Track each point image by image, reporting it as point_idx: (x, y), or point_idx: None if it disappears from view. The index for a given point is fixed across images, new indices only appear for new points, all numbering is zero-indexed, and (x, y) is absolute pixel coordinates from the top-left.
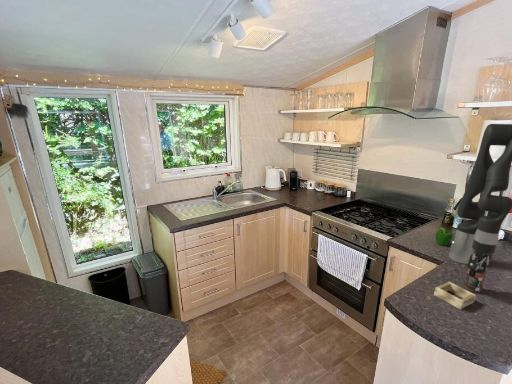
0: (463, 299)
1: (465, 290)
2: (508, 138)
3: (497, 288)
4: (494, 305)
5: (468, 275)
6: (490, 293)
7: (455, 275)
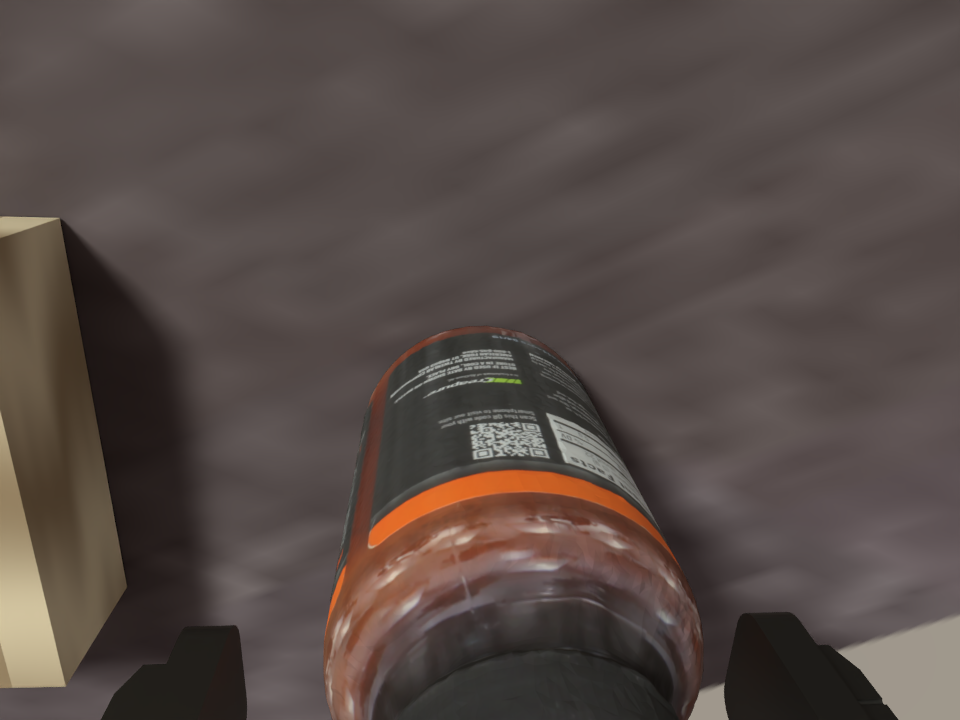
0: None
1: (9, 558)
2: None
3: (842, 566)
4: (327, 706)
5: (362, 515)
6: None
7: (732, 41)
